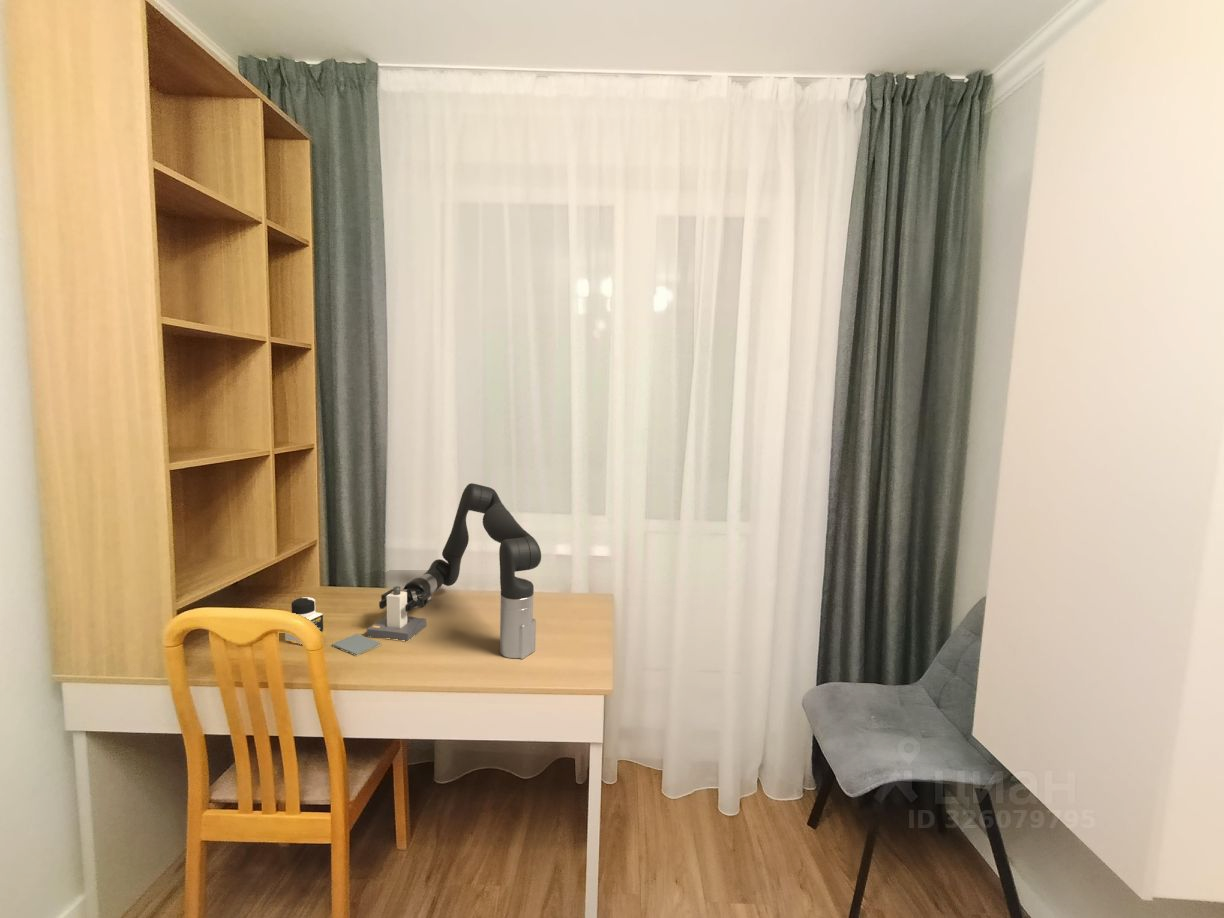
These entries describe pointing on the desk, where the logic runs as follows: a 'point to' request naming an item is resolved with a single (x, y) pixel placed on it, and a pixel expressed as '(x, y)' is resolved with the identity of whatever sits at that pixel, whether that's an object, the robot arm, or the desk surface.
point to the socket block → (397, 629)
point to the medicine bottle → (306, 613)
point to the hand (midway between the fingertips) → (393, 607)
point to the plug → (396, 608)
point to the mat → (356, 644)
